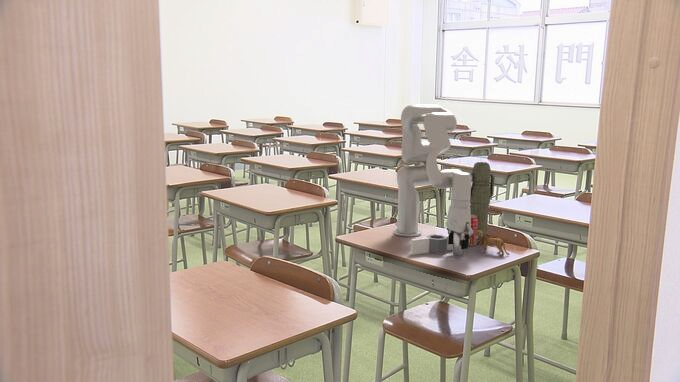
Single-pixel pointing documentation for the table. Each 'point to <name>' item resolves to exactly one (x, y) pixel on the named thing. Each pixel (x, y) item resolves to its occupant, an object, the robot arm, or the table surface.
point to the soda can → (474, 227)
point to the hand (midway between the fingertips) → (458, 246)
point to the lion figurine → (489, 242)
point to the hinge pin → (457, 245)
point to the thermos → (481, 194)
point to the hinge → (431, 245)
